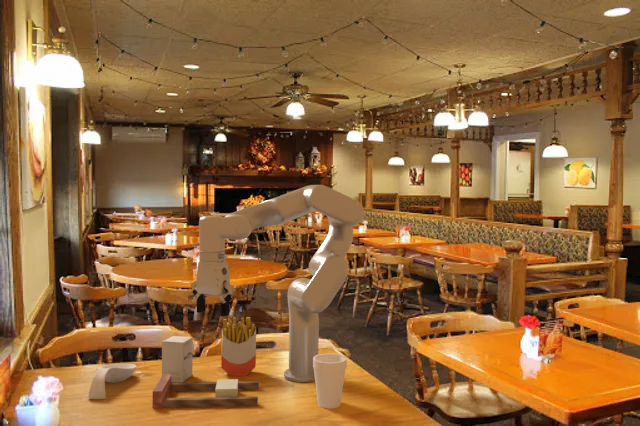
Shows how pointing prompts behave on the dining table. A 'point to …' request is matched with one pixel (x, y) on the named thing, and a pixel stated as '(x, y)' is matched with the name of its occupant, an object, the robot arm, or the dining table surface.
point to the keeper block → (226, 388)
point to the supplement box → (177, 358)
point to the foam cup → (329, 378)
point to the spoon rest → (109, 378)
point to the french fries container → (238, 347)
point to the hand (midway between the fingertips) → (212, 313)
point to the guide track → (166, 386)
